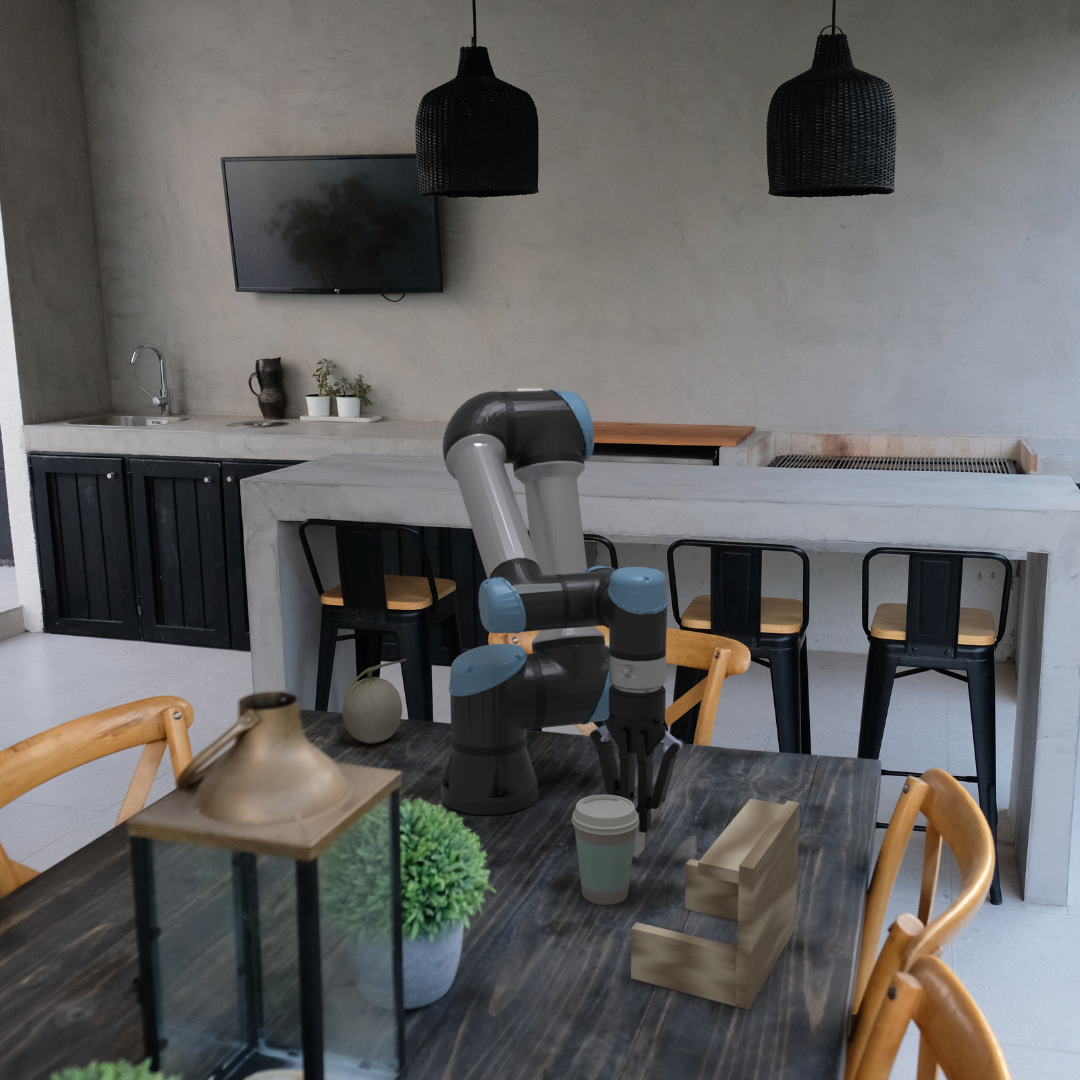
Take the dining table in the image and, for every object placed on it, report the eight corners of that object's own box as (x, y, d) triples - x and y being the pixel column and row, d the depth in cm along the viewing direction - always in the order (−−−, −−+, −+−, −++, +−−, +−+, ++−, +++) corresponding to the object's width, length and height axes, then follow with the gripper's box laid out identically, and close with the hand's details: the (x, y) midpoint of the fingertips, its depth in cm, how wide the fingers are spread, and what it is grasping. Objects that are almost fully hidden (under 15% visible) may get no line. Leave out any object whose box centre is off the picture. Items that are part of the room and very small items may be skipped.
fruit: (327, 743, 199) (324, 662, 197) (376, 727, 208) (373, 648, 205) (366, 757, 193) (363, 673, 190) (415, 739, 201) (413, 658, 199)
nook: (630, 978, 125) (632, 843, 123) (689, 903, 142) (691, 783, 139) (749, 1010, 119) (753, 868, 116) (795, 928, 136) (800, 802, 133)
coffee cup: (645, 884, 147) (646, 797, 145) (628, 915, 139) (629, 823, 137) (582, 874, 150) (582, 789, 148) (562, 904, 142) (562, 814, 140)
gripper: (580, 686, 149) (580, 853, 153) (673, 699, 143) (671, 873, 147) (603, 671, 155) (602, 832, 159) (693, 683, 149) (690, 850, 154)
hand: (635, 851), depth 153 cm, fingers closed
